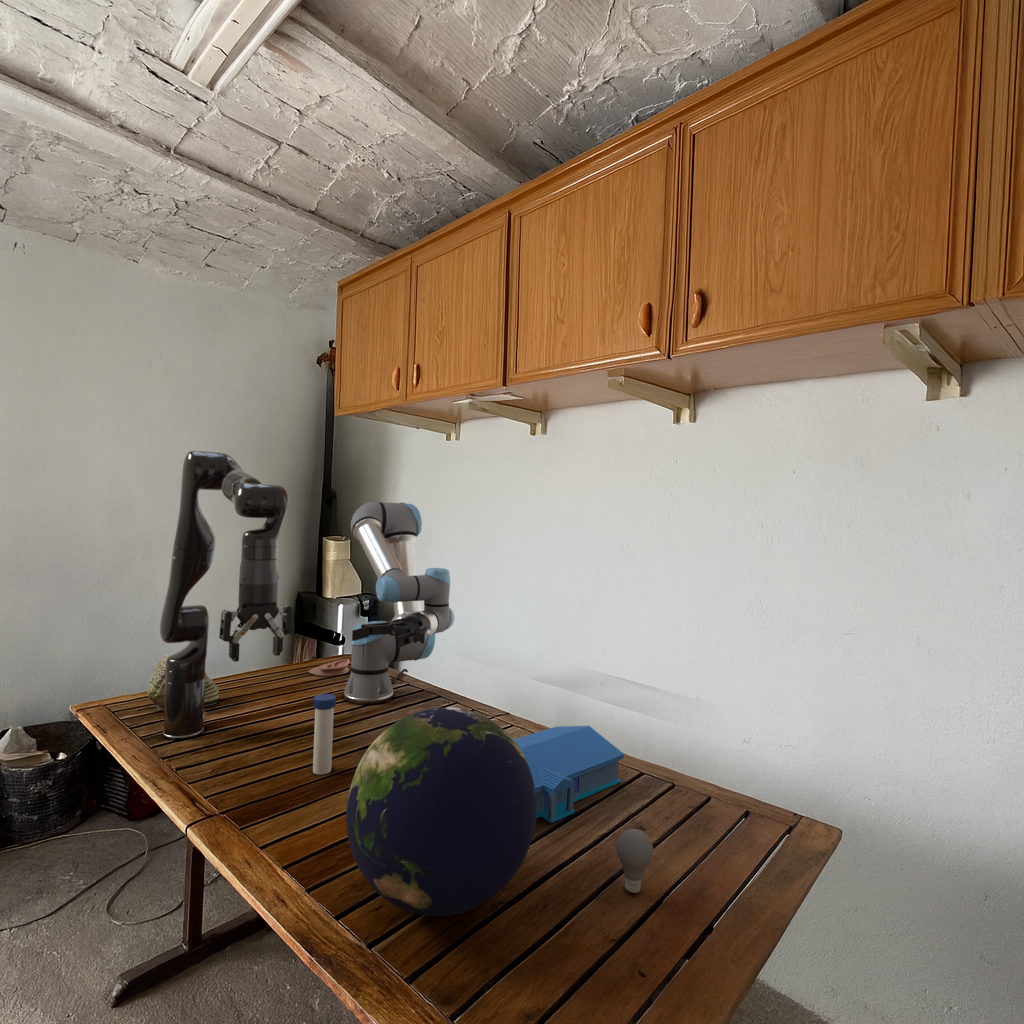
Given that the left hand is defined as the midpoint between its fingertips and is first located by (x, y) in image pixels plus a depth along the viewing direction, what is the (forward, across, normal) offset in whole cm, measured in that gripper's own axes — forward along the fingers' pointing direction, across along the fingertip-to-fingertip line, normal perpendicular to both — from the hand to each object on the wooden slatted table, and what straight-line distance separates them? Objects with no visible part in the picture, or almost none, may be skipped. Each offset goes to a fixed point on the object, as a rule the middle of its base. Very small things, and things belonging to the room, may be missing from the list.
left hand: (256, 657), depth 132 cm
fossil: (+29, -6, -67) cm, 73 cm away
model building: (+29, -49, +35) cm, 67 cm away
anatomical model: (+29, -57, -76) cm, 99 cm away
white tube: (+29, -17, -3) cm, 34 cm away
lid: (+12, -17, -3) cm, 22 cm away
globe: (+29, -10, +52) cm, 61 cm away
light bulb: (+29, -36, +71) cm, 85 cm away
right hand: (+2, -35, -10) cm, 36 cm away
